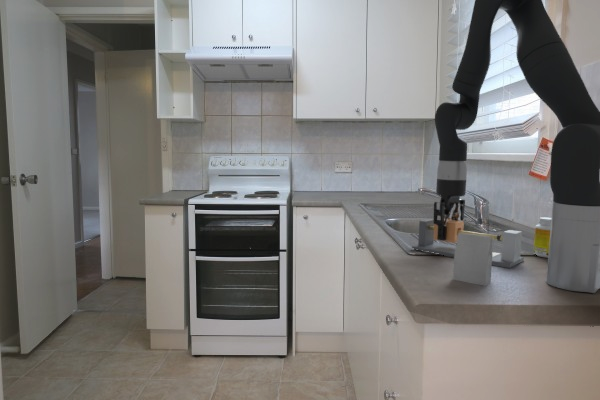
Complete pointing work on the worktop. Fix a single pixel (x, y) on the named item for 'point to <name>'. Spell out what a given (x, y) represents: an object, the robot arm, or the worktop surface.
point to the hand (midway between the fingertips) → (447, 238)
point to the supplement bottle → (542, 237)
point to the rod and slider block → (510, 237)
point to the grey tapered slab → (473, 259)
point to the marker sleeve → (450, 230)
